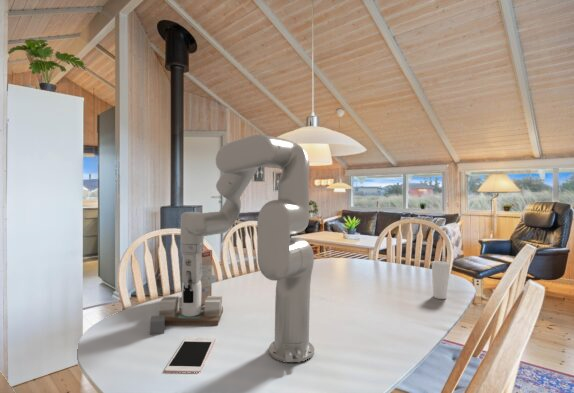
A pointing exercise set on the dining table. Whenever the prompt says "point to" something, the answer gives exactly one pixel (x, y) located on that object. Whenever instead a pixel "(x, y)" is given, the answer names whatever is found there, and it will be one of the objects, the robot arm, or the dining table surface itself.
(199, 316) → the mounting board
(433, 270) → the drinking glass
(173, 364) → the cell phone
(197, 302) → the can
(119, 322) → the dining table surface
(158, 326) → the block
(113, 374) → the dining table surface
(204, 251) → the cracker box
